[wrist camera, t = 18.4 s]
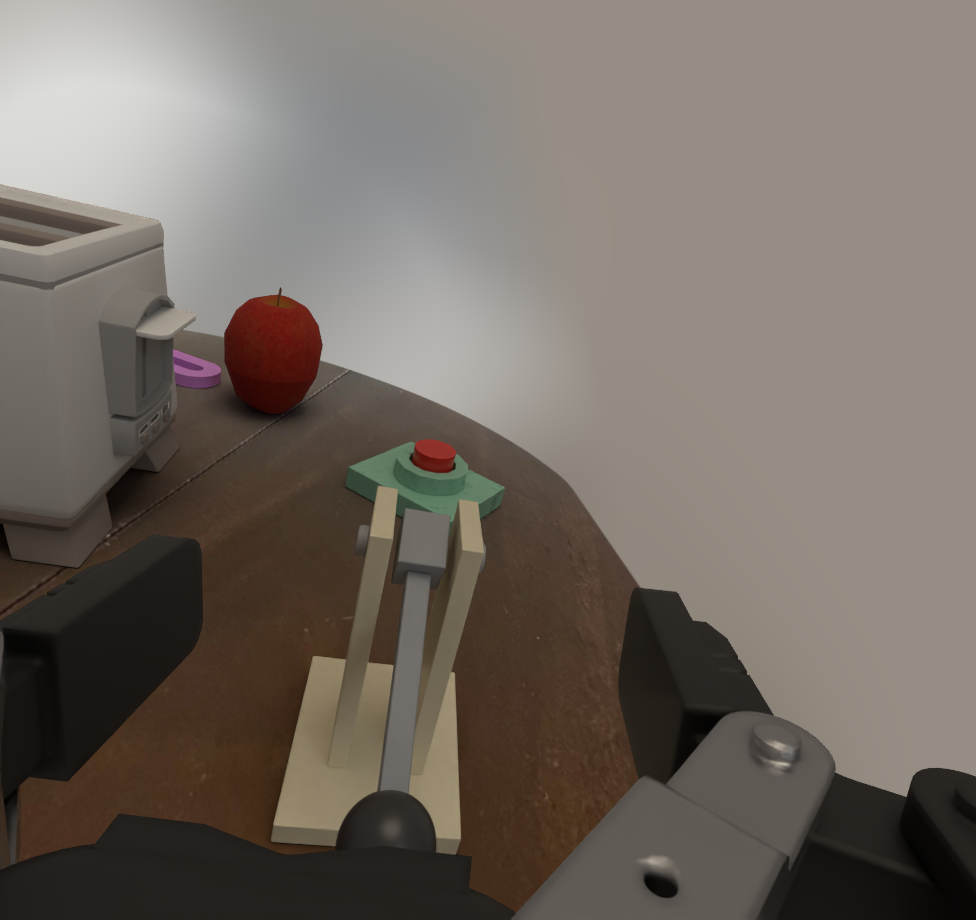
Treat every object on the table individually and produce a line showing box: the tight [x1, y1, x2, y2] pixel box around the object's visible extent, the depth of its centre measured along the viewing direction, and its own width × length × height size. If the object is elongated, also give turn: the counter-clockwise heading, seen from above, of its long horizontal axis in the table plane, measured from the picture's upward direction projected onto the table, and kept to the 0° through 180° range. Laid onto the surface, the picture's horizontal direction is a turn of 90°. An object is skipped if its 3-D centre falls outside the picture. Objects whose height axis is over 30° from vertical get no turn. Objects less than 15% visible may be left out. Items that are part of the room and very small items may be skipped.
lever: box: [335, 508, 451, 852], centre depth 26 cm, size 15×4×4 cm, turn 5°
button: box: [412, 440, 456, 473], centre depth 61 cm, size 4×4×2 cm
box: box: [346, 442, 505, 536], centre depth 62 cm, size 12×10×4 cm
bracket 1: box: [173, 350, 221, 388], centre depth 74 cm, size 13×6×7 cm, turn 73°
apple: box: [224, 288, 322, 414], centre depth 70 cm, size 10×10×14 cm
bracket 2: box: [271, 486, 486, 855], centre depth 32 cm, size 11×9×16 cm
